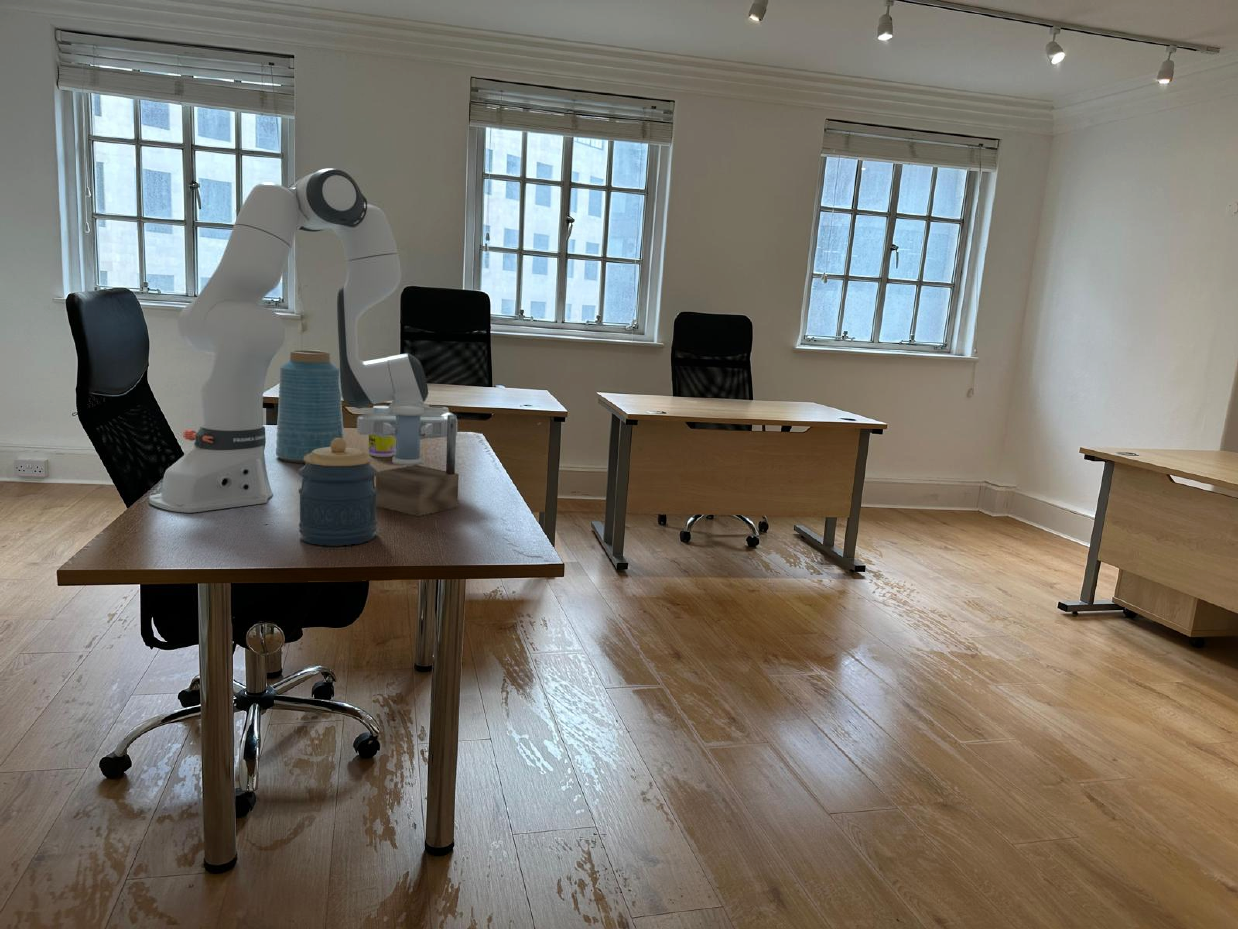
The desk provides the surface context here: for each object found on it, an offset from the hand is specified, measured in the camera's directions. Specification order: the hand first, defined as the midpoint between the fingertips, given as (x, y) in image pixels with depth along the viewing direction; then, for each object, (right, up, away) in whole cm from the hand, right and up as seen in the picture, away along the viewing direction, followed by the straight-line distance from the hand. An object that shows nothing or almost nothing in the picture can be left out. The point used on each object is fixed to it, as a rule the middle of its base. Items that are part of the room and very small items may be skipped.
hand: (408, 431), depth 169 cm
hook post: (+8, -9, +2) cm, 12 cm away
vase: (-36, -5, +44) cm, 57 cm away
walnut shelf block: (+1, -15, +4) cm, 16 cm away
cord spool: (-1, -6, +2) cm, 7 cm away
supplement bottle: (-20, -4, +53) cm, 57 cm away
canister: (-7, -20, -21) cm, 29 cm away
